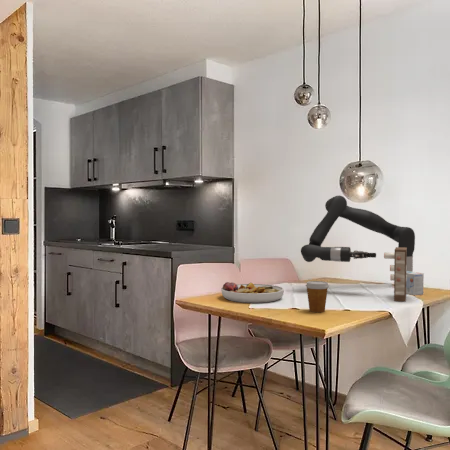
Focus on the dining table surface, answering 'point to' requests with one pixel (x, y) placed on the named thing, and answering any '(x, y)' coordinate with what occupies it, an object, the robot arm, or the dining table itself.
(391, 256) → the top button
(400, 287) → the wooden peg board
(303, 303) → the dining table surface
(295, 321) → the dining table surface
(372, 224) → the robot arm
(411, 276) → the light bulb box
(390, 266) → the middle button
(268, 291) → the bowl
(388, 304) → the dining table surface
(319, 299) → the disposable coffee cup
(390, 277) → the bottom button
